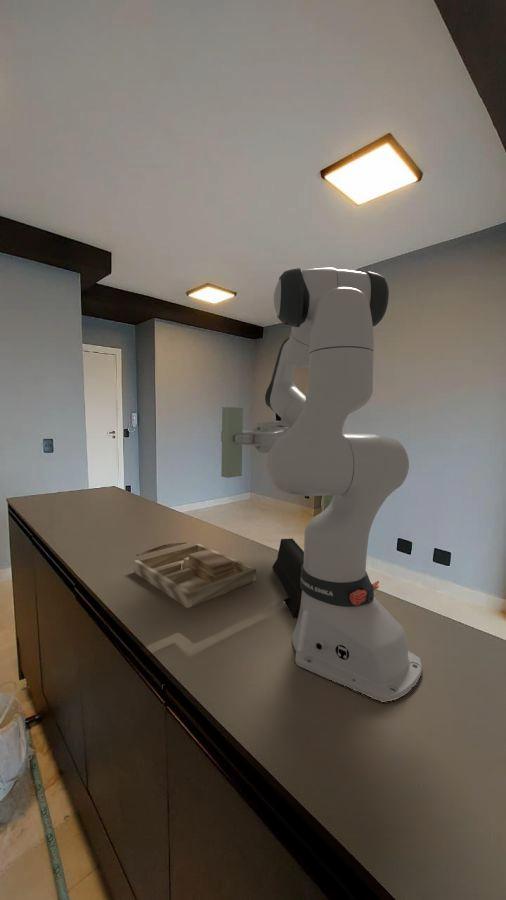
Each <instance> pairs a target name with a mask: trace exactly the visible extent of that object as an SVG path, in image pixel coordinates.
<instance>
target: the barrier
mask: <svg viewBox="0 0 506 900" xmlns="http://www.w3.org/2000/svg"><path fill="white" fill-rule="evenodd" d="M303 564H304V549H302V547H300V546H299V544H298V543H297V542H296V541H295V540H294V538H281V539H280V543H279V548H278V553H277V557H276V560H275V561H274V564H273V565H272V566H271V568H272V571H273V572H274V573H275V575H276V577H277V579H278V580H279V582H280V584H281V586H282V587H283V589H284V592H285V593H286V595H287V596H288V597H287V598H285V599H283V602H284V604H285V605H286V607H287V609H288V611H289V613H290V615H291V616H292V618H293V619H298V615H299V610H300V604H301V595H302V589H301V586H300V578H301V567H302V565H303Z"/></svg>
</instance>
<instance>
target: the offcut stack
mask: <svg viewBox="0 0 506 900" xmlns="http://www.w3.org/2000/svg"><path fill="white" fill-rule="evenodd" d="M186 568H190V569H191V573H192V574H193V575H195V576H197V577H199V578H201V579H203V580H204V581H206V582H208V583H213V582H215V581H218V580H221V579H224V578H226V577H229V576H232V575H235V574H237V572H235V571H234V565H232V562H231V561H229V560H227V559H225V558H223V557H221V556H219V555H217V554H215V553H213V552H211V551H209V550H204V551H200V552H196V553H192V554H189V557H187V558H184V563H182V569H186Z"/></svg>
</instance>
